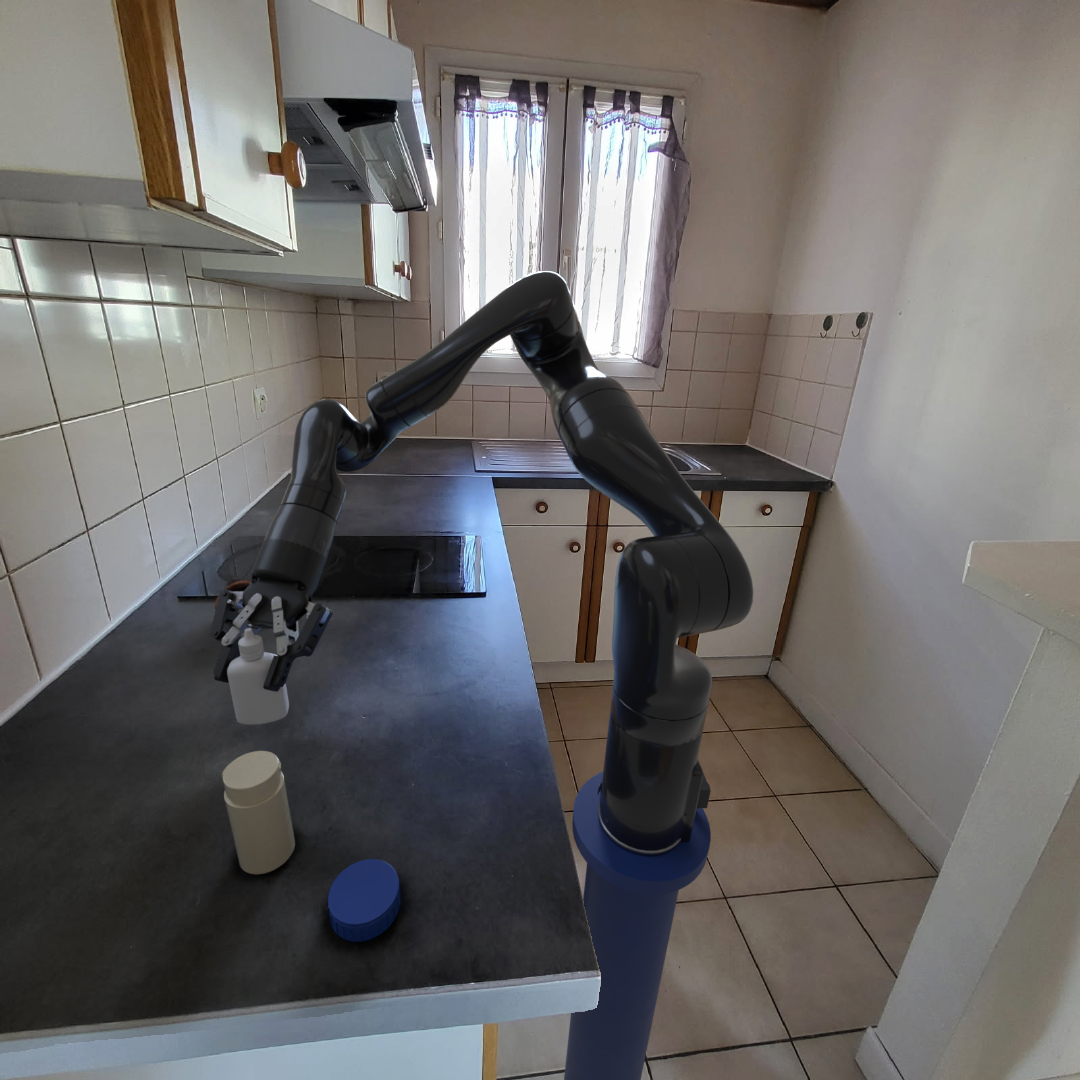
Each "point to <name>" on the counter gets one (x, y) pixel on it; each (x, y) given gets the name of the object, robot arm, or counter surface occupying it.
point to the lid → (364, 900)
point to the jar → (258, 811)
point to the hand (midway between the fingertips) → (245, 685)
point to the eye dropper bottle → (254, 684)
